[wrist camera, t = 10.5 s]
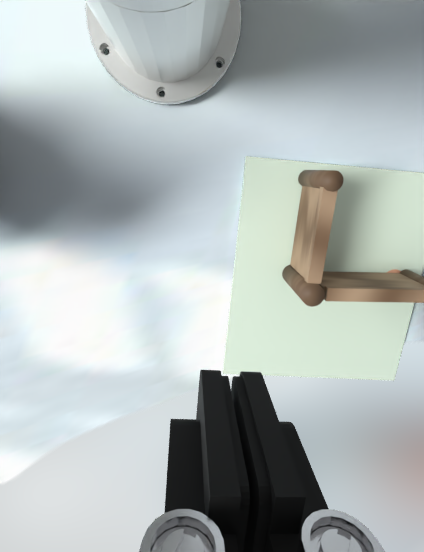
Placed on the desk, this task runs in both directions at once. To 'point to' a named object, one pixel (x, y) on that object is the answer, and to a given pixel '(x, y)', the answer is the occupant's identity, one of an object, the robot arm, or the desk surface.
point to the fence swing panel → (373, 287)
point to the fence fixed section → (312, 233)
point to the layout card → (339, 258)
